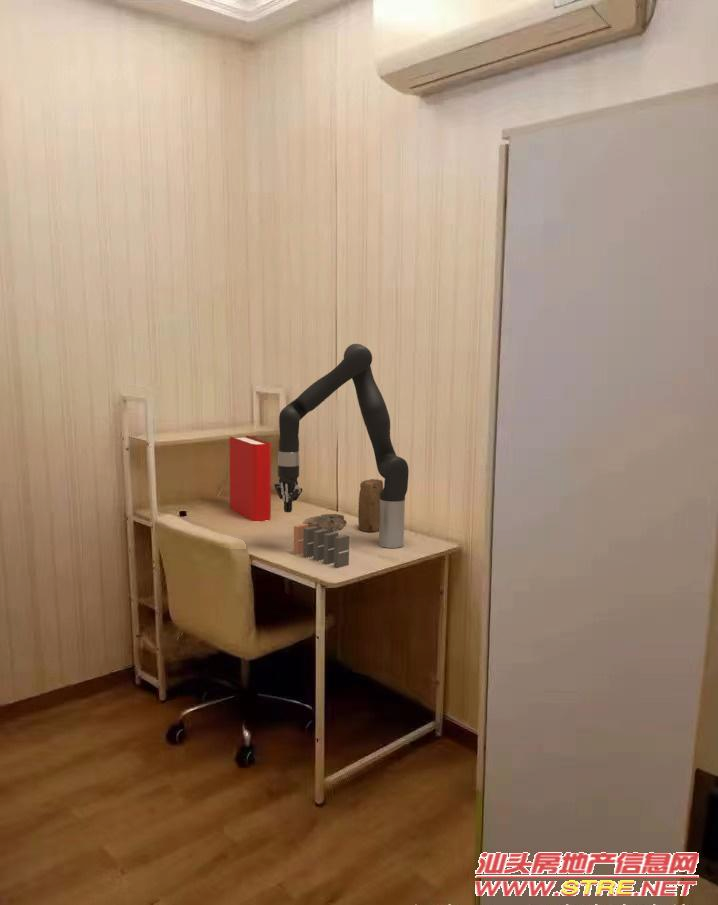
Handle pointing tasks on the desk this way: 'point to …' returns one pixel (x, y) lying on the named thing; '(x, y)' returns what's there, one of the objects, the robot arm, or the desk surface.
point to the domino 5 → (341, 551)
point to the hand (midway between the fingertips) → (287, 511)
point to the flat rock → (326, 522)
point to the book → (250, 477)
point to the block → (369, 505)
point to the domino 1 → (299, 538)
